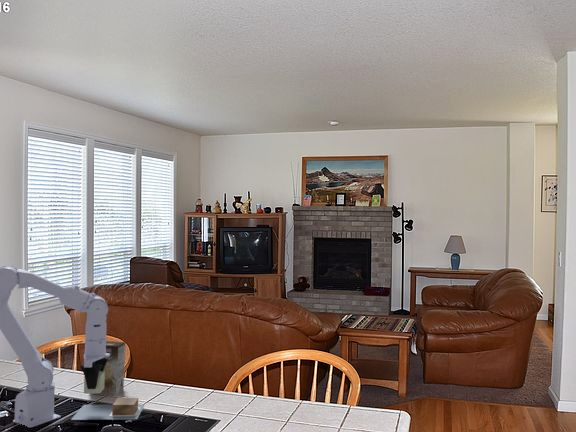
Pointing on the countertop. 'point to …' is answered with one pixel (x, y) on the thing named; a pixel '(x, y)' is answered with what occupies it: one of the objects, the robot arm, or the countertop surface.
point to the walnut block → (125, 406)
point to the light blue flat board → (103, 413)
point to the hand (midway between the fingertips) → (94, 386)
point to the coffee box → (114, 368)
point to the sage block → (99, 385)
